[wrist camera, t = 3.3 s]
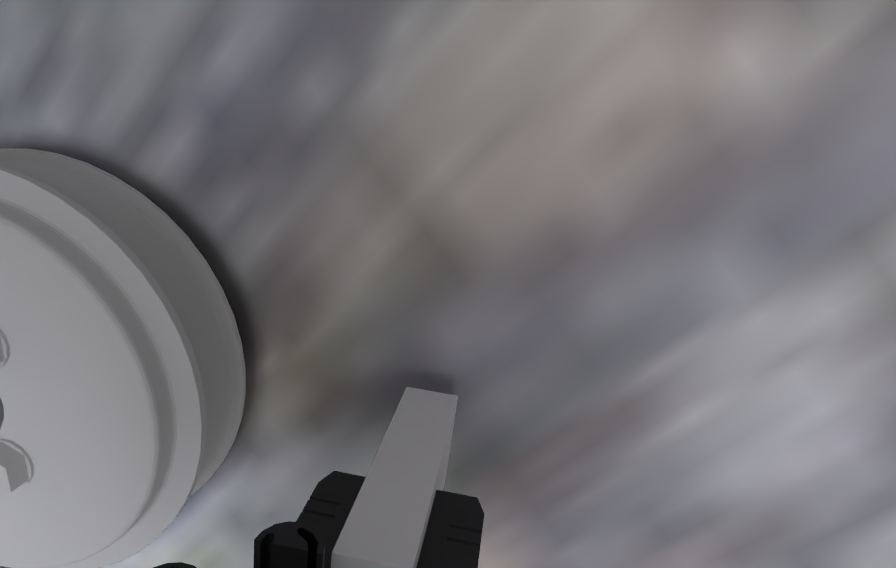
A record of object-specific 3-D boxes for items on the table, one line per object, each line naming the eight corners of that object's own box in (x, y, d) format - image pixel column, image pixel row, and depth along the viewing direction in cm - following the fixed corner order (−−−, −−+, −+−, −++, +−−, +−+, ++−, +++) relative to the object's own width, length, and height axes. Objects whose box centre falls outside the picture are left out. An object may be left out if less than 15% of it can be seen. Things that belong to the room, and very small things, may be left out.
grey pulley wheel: (247, 156, 17) (137, 178, 12) (269, 519, 21) (192, 642, 16) (-133, 135, 19) (-358, 148, 14) (-48, 477, 23) (-202, 577, 18)
